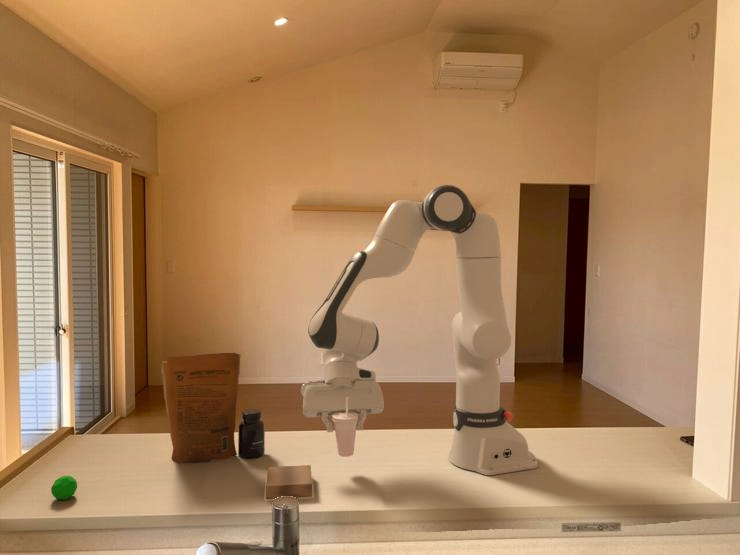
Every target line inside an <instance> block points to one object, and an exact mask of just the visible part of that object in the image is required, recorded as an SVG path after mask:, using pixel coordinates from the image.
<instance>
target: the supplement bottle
mask: <svg viewBox="0 0 740 555" xmlns="http://www.w3.org/2000/svg"><path fill="white" fill-rule="evenodd" d="M241 415H242V416H241V419H242V420H240V422H239V423H238V427H237V428H238V429H237V431H238V432H237V433H238V434H237V436H238V437H237V438H238V439H237V440H238V441H237V446H238V447H237V448H238V449H237V451H238V452H237V455H238V457H239V458H240V459H243V460H256V459H258V458H262V457H263V456H264V455H265V447H266V446H265V444H266V443H265V442H266V441H265V438H266V437H265V436H266V435H265V434H266V433H265V432H266V430H265V429H266V428H265V426H266V425H265V422H264V421H263V420H262V411H261V409H259V408H247V409H244V410H242V412H241Z"/></svg>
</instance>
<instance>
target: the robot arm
mask: <svg viewBox="0 0 740 555" xmlns="http://www.w3.org/2000/svg"><path fill="white" fill-rule="evenodd" d="M497 224H498V223H497V221H496V219H495V218H494V217H493V216H492V215H490V214H487V213H485V212H477V210H475V208H474V206H473V203H471V201H470V199H469V197H468V196H467V194H466V192H464V191H463V190H462V189H461V188H459V187H457V186H455V185H452V184H443V185H440V186H437V187H435V188H434V189H431V191H429V192H428V193H427V195H426V196H425V197H424V198H422V199H421V201H419V202H414V201H412V200H408V199H398V200H396V201H394V202H392V204H390V206H389V208H388V209H387V210H386V212H385V214H384V216H383V217H382V219H381V221H380V223H379V225H378V227H377V230H376V232H375V234H374V236H373V238H372V240H371V241H370V243H369V244H368V245H367V247H366V248H364V249H363V250H362V251H357V252H355V253H354V255H353V256H352V257H350V259H349V261H348V262H347V263H346V265H345V267H344V268H343V270H342V271H341V273H340V274H339V276H338V278H337V279H336V282H335V283H334V285H333V287H332V288H331V290H330V291H329V293H328V295H327V297H326V298H324V301H323V302H322V304H321V306H320V307H319V308H318V309H317V311H316V312H315V313H314V314H313V316H312V317H311V319H310V321H309V324H308V327H307V328H308V330H307V332H308V336H309V338H310V340H311V342H312V343H313V345H314V346H315V347H316V348H317V349H322V359H323V362H324V366H323V380H317V381H312V380H309V381H306V382H305V383H304V384H302V385H301V387H300V395H301V396H302V398H303V400H302V401H303V402H302V415H303V416H304V417H305V418H321V421H322V423H323V424H324V425H325V426H326V433H334V422H330V421H329V419H328V418H329V417H332V415H333V414H334V413H336V412H340V411H346V398H348V411H353V412H356V413H357V414H358V416H359V417H360V420H357V426H356V431H364V423H365V421H366V419H367V415H375V414H382V412H383V410H384V409H385V399H384V395H383V392H382V391H383V390H382V388H381V386H380V384H379V382H378V381H377V380H376V379H377V376H376V372H374V371H373V370H370V369H369V370H368V369H364V368H360V367H358V365H357V363H358V362H361V361H362V360H364V359H366V358H367V357H368V356H370V355H371V354H373V353H374V352H375V351H376V350H377V349H378V346H379V343H380V335H379V328H378V327H377V325H376V323H375V322H373V321H370V320H368V319H365V318H361V317H359V316H354V315H351V314H347V313H344V312H343V311H344V309H345V308H346V306H347V304H348V302H349V301H350V298H351V297H352V295H353V294H354V292H355V290H356V289H357V288H358V286H359V285H360V284H361V283H363V282H364V281H367V280H372V279H379V278H380V279H381V278H383V279H384V278H389V277H390V278H391V277H395V276H398V275H401V274H402V273H403V272H405V271H406V270H407V268H408V267H409V266H410V264H411V262H412V261H413V257H414V255H415V253H416V251H417V248H418V246H419V243H420V241H421V239H422V237H423V236H424V234H425V233H426V232H428V231H429V230H432V231H440V232H450V233H451V234H452V236H453V237H454V241H455V245H456V246H455V257H456V258H455V260H456V262H455V266H456V273H455V276H456V290H457V294H458V295H457V296H458V298H459V305H460V311H459V312H457V313H456V314H455V316H454V317H453V319H452V322H451V331H452V345H453V357H454V365H455V366H454V367H455V375H456V376H455V378H456V379H455V380H456V382H455V384H456V386H455V387H456V388H455V404H454V406H453V407H454V408H453V416H452V417H453V418H452V419H453V420H452V421H453V427H454V430H453V437H452V443H451V447H450V451H449V454H448V461H449V462H450V463H452V464H453V466H456V467H458V468H461V469H464V470H469V471H472V472H477V473H479V474H482V475H485V476H493V475H498V474H499V475H501V474H505V473H506V474H507V473H512V472H514V473H515V472H519V471H527V470H533V469H537V468H538V466H539V465H538V464H539V462H538V459H537V456H535V455H534V453H532V452H531V451H530V449H529V446H528V441H527V439H526V438H525V435H523V434H522V433H521V432H520V431H519V430H517V429H516V428H515V427H514V426H513V425H511V424H510V423H509V422H508V421H512V420H513V419H514V414H513V413H512V412H510V411H509V410H506V409H505V408H503V407H502V406H500V399H501V398H500V397H501V392H500V391H501V376H500V374H499V370H498V364H497V359H500V358H502V357H504V356H505V355H506V354H507V352H508V351H509V349H510V347H511V344H512V336H511V335H512V334H511V332H510V330H509V328H508V327H509V326H508V323H507V316H506V315H507V314H506V309H505V303H504V298H503V292H502V291H503V290H502V271H501V270H502V264H501V263H502V262H501V261H502V259H501V258H502V257H501V242H500V240H501V239H500V235H499V229H498V225H497Z"/></svg>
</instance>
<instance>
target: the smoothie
mask: <svg viewBox="0 0 740 555" xmlns="http://www.w3.org/2000/svg"><path fill="white" fill-rule="evenodd" d="M331 419H332V421H333V428H334V433H335V438H336V447H337V453H338V455H339V456H340V457H344V458H345V457H347V458H348V457H351V456H353V455H354V454H355V452H354V451H355V442H356V435H357V433H356V432H357V421H359V415H358V414H357V413H356V412H353V411H348V398H346V411H340V412H336V413H334V414H333V415H332V416H331Z"/></svg>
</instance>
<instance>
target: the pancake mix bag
mask: <svg viewBox="0 0 740 555" xmlns="http://www.w3.org/2000/svg"><path fill="white" fill-rule="evenodd" d="M240 368H241V354H240V353H236V352H217V353H207V354H204V353H203V354H198V355H186V356H183V355H182V356H170V357H167V358H166V361H162V362H161V377H162V385H163V398H164V401H165V409H166V415H167V416H166V417H167V420H168V427H169V434H170V439H171V445H172V454H171V460H173V461H174V462H176V463H182V464H187V463H189V464H190V463H200V462H201V463H202V462H204V463H205V462H211V461H213V460H215V461H216V460H226V459H230V458H232V457H236V456H237V455H238V452H237V450H236V444H235V442H236V441H235V429H236V419H237V418H236V416H237V412H236V411H237V410H236V409H237V404H238V399H239V398H238V396H239V383H240V382H239V380H240V373H241V371H240V370H241V369H240Z"/></svg>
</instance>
